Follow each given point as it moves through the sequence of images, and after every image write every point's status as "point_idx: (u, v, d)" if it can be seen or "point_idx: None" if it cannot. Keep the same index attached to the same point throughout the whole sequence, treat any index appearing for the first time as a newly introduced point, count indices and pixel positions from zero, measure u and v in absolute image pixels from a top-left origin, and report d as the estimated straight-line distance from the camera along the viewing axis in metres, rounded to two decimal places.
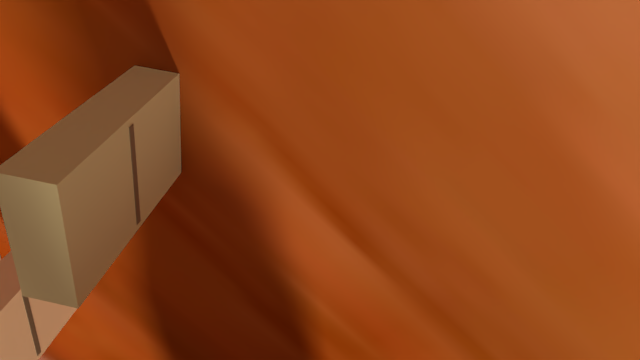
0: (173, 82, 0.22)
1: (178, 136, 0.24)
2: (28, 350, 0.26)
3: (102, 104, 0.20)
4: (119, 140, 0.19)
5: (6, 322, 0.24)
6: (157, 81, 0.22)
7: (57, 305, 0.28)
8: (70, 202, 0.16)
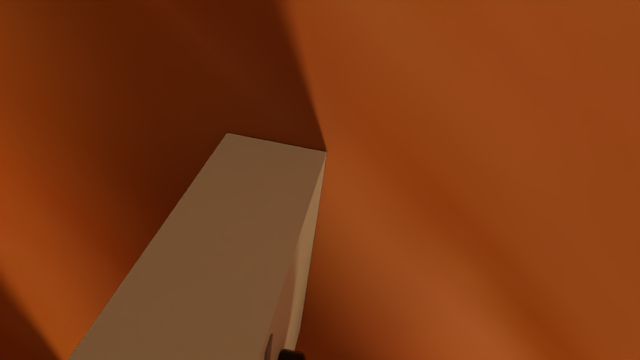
0: (320, 175, 0.10)
1: (307, 273, 0.12)
2: None
3: (183, 272, 0.07)
4: None
5: None
6: (290, 177, 0.09)
7: None
8: None
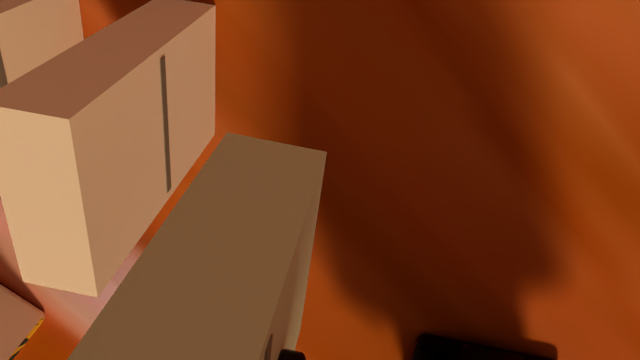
0: (320, 175, 0.10)
1: (307, 273, 0.12)
2: (159, 175, 0.16)
3: (182, 273, 0.07)
4: None
5: (140, 97, 0.14)
6: (290, 176, 0.09)
7: (190, 121, 0.18)
8: None
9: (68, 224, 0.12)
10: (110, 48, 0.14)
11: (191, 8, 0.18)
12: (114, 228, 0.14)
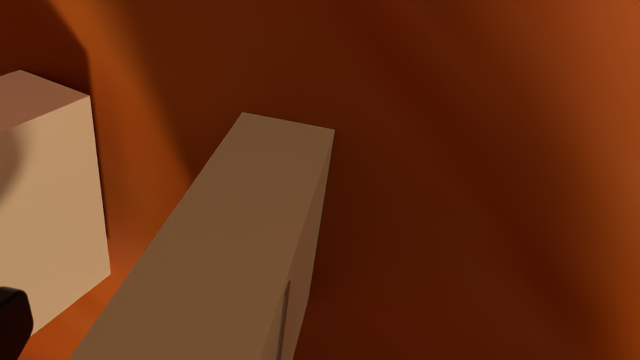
0: (329, 150, 0.11)
1: (316, 245, 0.13)
2: None
3: (209, 228, 0.08)
4: (270, 342, 0.07)
5: None
6: (302, 150, 0.10)
7: (12, 280, 0.11)
8: None
9: None
10: None
11: (37, 100, 0.11)
12: None
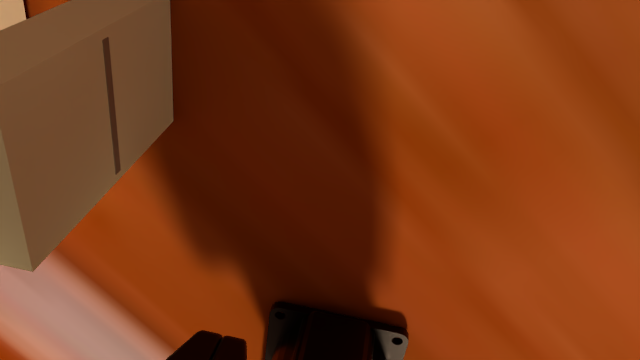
0: (162, 0, 0.18)
1: (169, 74, 0.20)
2: None
3: (69, 14, 0.15)
4: (88, 53, 0.14)
5: None
6: None
7: None
8: (14, 120, 0.12)
9: None
10: None
11: None
12: None
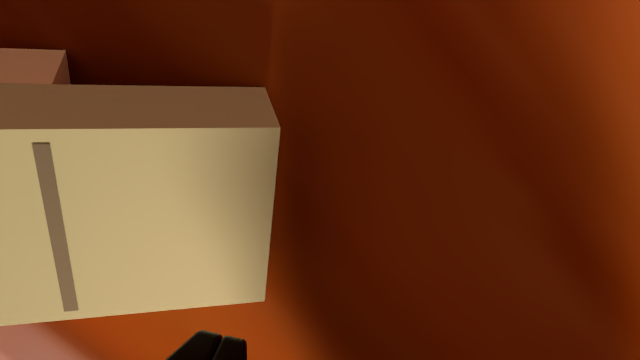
0: (250, 134, 0.11)
1: (257, 238, 0.12)
2: None
3: (80, 98, 0.11)
4: None
5: None
6: (223, 117, 0.11)
7: None
8: None
9: None
10: None
11: (16, 72, 0.12)
12: None
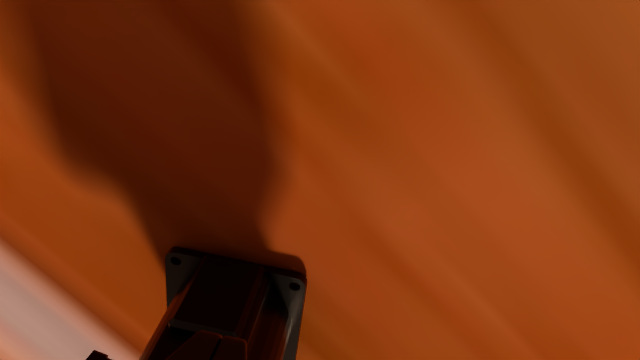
0: None
1: None
2: None
3: None
4: None
5: None
6: None
7: None
8: None
9: None
10: None
11: None
12: None
